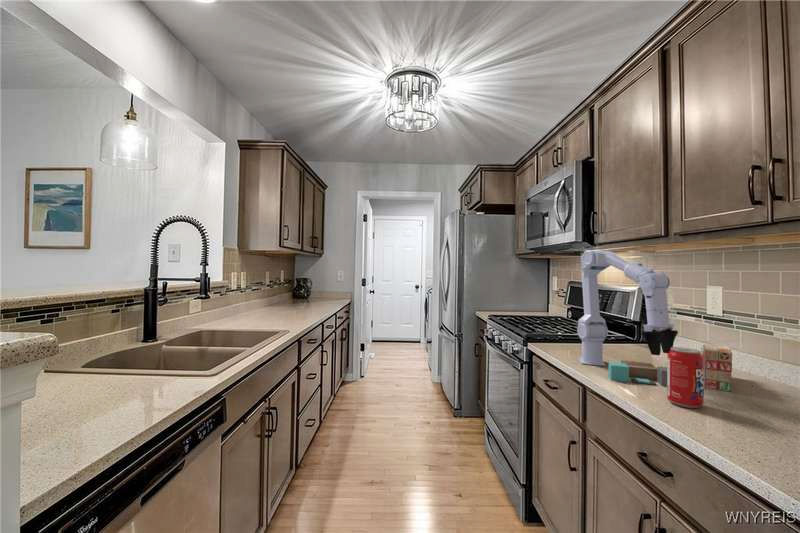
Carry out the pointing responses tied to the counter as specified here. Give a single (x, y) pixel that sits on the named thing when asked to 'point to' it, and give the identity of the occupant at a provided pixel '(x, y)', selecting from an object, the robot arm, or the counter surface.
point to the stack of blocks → (717, 366)
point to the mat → (643, 381)
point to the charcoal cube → (662, 376)
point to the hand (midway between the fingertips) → (661, 354)
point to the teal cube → (618, 372)
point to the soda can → (685, 377)
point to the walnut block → (641, 370)
